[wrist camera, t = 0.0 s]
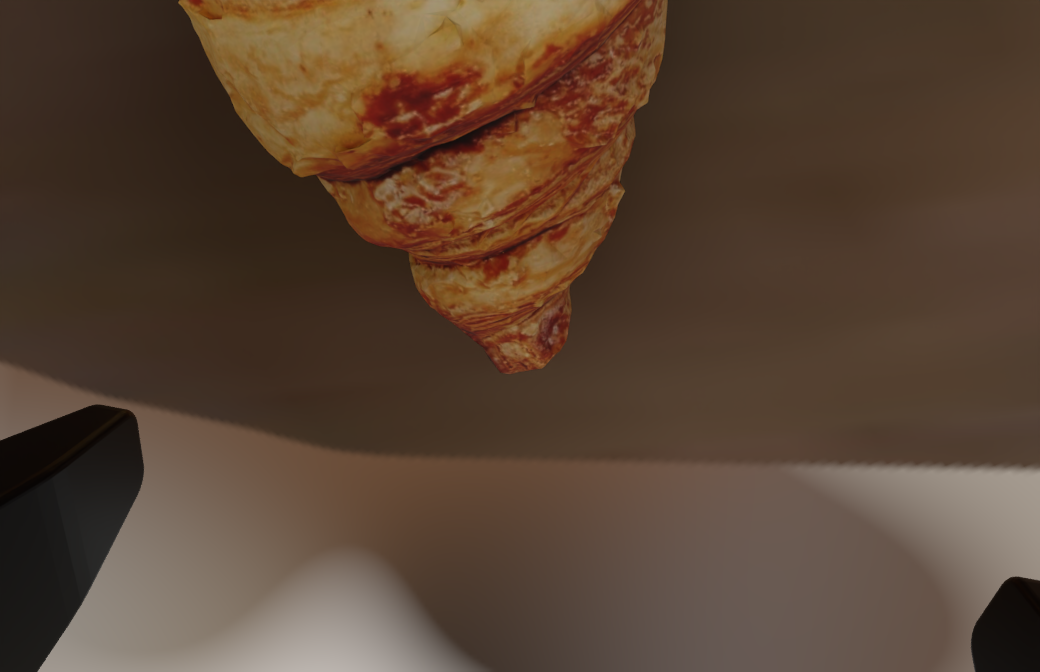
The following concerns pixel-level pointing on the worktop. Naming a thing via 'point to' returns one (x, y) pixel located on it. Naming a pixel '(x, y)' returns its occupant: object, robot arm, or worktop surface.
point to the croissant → (454, 136)
